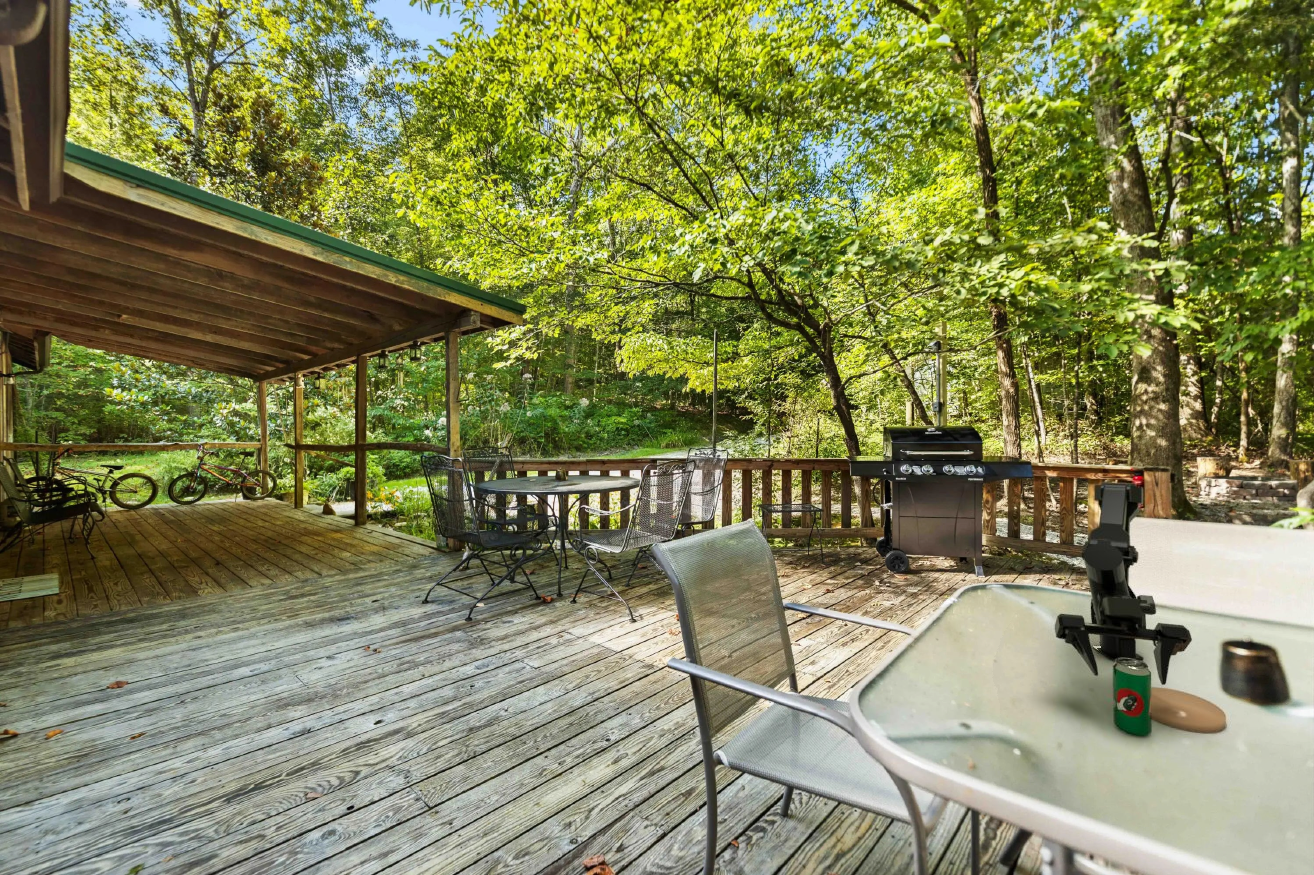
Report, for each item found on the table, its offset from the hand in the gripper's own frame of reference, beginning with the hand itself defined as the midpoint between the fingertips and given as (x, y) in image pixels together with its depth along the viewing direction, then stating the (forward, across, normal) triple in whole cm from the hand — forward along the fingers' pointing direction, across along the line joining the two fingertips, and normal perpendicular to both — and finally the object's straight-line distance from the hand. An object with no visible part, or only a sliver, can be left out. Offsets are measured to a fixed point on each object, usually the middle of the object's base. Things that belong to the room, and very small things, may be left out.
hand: (1129, 679), depth 96 cm
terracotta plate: (+1, +9, +11) cm, 14 cm away
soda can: (+7, 0, +6) cm, 9 cm away
